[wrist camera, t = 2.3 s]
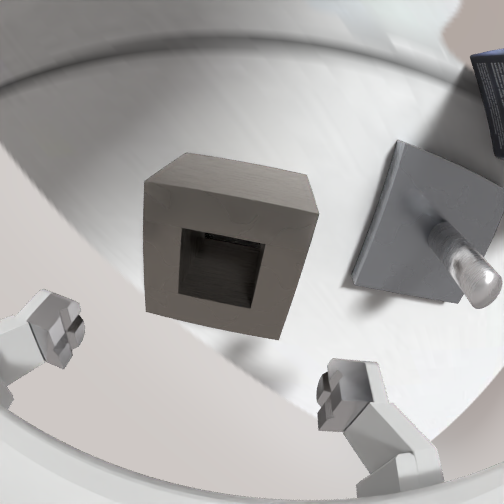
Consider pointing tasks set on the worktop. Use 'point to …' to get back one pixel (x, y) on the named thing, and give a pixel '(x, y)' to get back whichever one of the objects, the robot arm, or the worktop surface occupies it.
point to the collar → (224, 253)
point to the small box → (492, 93)
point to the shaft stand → (432, 231)
